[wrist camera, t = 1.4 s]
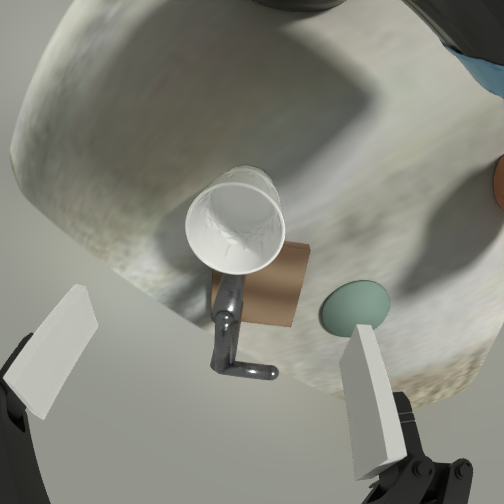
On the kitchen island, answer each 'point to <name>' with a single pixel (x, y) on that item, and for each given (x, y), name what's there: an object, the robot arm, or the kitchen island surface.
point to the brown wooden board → (272, 287)
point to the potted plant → (499, 183)
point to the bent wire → (233, 332)
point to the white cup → (237, 222)
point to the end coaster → (355, 307)
